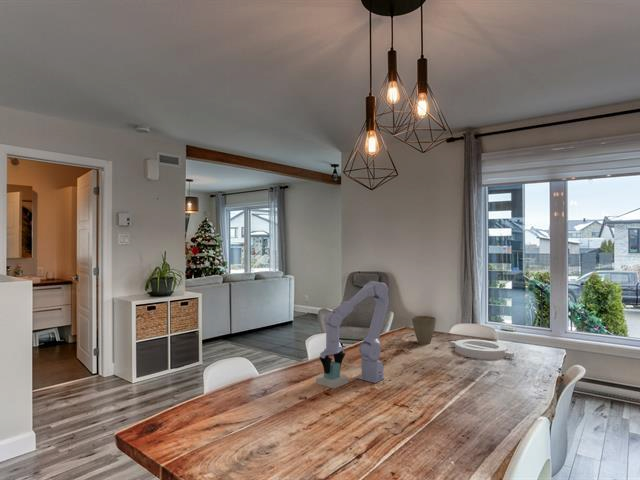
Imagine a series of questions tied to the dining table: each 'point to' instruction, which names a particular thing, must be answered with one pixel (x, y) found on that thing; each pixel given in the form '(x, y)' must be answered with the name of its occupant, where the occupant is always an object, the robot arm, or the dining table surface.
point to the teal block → (333, 371)
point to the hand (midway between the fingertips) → (332, 371)
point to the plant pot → (424, 328)
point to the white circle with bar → (481, 349)
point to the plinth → (332, 381)
